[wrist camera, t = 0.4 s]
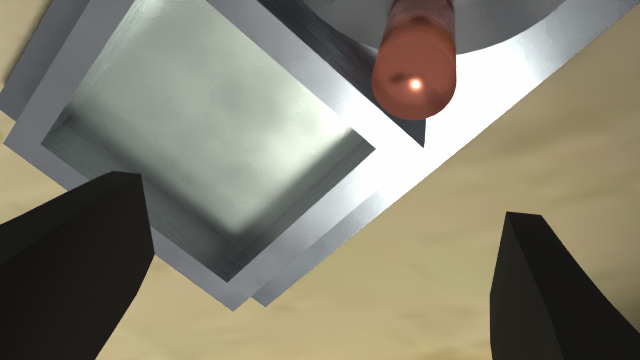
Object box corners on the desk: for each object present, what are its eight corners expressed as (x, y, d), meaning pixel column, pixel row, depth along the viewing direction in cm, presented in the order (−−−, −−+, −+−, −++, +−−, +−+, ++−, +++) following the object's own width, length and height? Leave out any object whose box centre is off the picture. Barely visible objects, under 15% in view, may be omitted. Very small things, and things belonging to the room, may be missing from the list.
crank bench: (797, -146, 15) (897, -132, 12) (271, 291, 26) (245, 362, 23) (427, -628, 12) (419, -792, 9) (10, 94, 23) (-65, 143, 20)
